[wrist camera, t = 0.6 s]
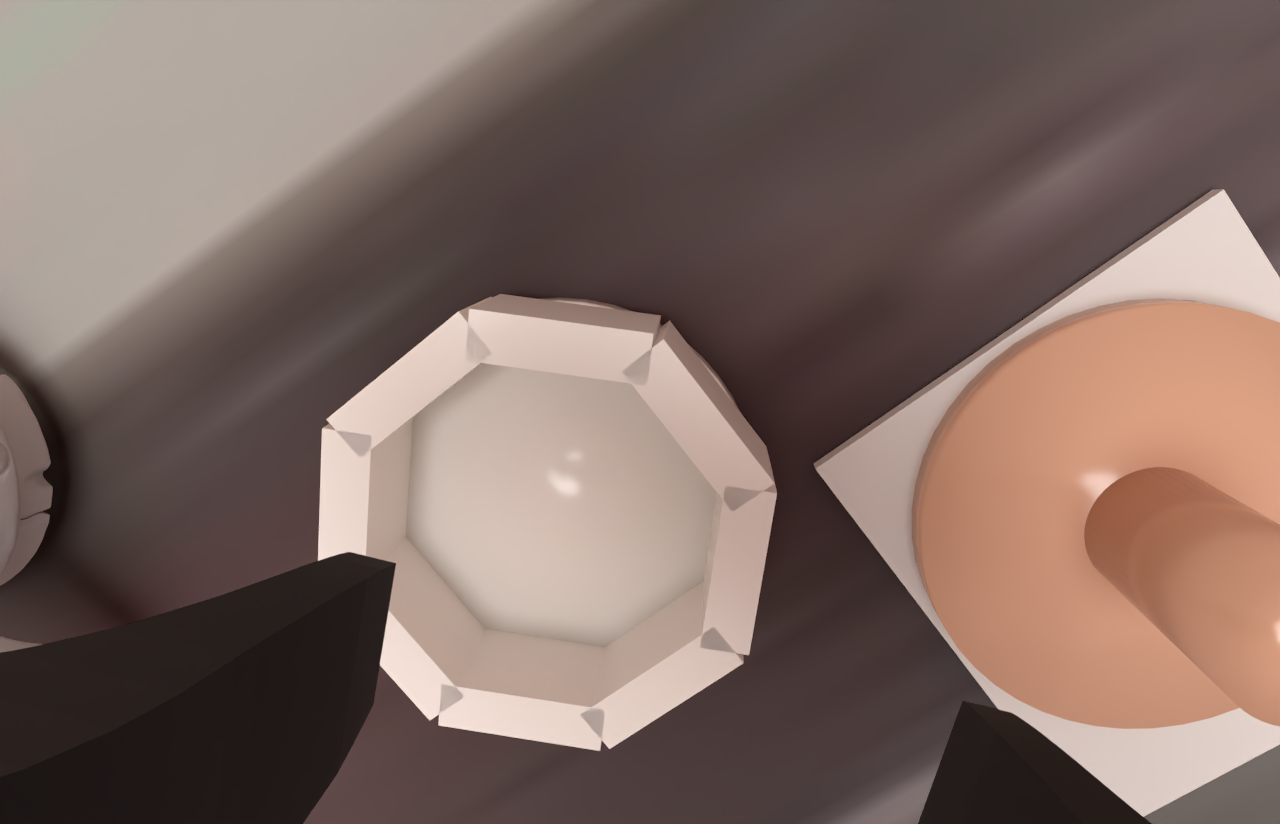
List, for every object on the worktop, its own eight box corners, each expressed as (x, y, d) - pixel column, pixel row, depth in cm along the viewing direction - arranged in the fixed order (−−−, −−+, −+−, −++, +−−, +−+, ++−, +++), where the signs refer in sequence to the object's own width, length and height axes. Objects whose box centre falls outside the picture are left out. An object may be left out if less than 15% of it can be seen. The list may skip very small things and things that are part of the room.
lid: (1443, 557, 19) (1766, 716, 13) (1056, 772, 21) (1189, 993, 15) (1219, 203, 18) (1469, 207, 12) (827, 470, 20) (877, 586, 14)
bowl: (832, 524, 20) (857, 590, 17) (541, 717, 22) (511, 812, 19) (595, 215, 19) (571, 219, 16) (308, 448, 21) (229, 497, 18)
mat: (1484, 618, 20) (1500, 627, 19) (1091, 829, 22) (1098, 840, 21) (1212, 189, 18) (1223, 189, 18) (813, 463, 20) (815, 468, 20)
